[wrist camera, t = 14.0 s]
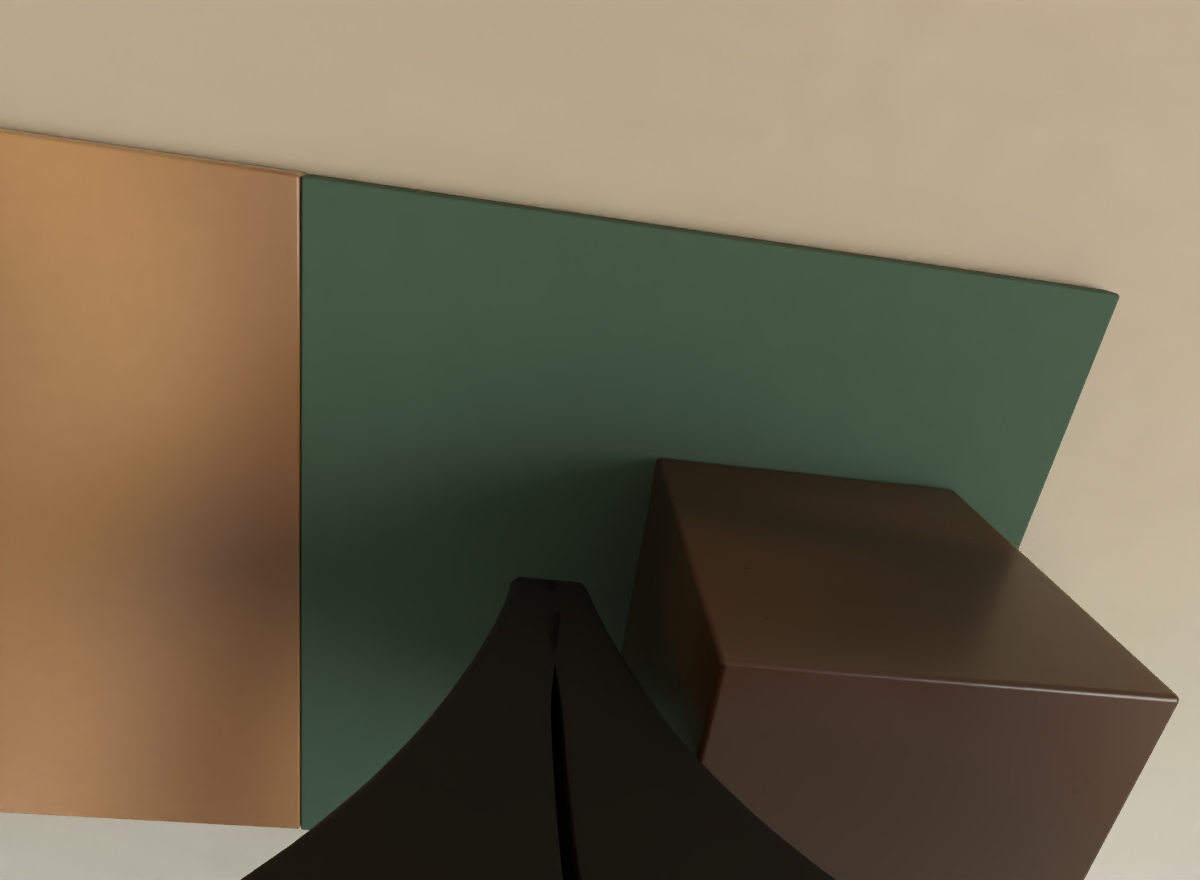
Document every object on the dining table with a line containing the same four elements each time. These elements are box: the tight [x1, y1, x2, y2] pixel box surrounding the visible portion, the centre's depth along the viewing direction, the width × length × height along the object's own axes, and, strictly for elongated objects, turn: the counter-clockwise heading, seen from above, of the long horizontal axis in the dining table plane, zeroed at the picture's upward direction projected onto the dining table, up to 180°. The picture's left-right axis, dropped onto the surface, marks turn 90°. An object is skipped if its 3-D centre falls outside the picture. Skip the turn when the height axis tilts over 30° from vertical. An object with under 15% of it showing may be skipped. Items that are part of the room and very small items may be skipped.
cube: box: [621, 458, 1179, 880], centre depth 11 cm, size 5×5×5 cm
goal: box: [301, 175, 1119, 830], centre depth 13 cm, size 12×12×1 cm
